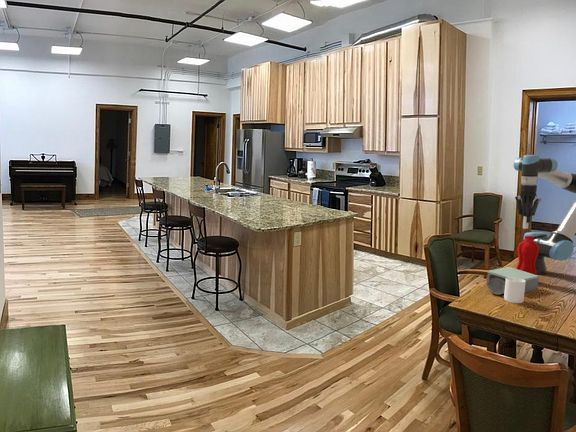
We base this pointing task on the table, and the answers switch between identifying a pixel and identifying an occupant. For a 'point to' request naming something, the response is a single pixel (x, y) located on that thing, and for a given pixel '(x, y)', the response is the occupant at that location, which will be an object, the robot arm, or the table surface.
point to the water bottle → (527, 255)
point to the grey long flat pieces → (529, 285)
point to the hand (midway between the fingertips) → (525, 228)
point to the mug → (496, 286)
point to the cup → (514, 290)
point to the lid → (512, 273)
